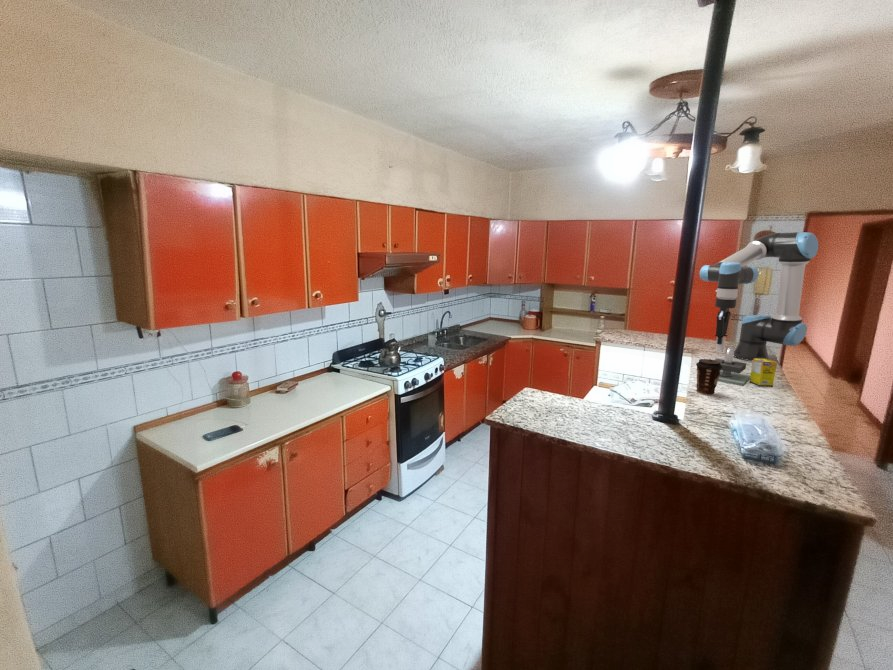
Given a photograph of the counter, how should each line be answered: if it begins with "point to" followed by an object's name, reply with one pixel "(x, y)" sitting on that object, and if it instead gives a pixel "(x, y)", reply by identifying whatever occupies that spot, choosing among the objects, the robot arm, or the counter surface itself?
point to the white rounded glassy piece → (728, 360)
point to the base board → (734, 379)
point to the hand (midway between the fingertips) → (719, 350)
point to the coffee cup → (707, 376)
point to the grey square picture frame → (732, 366)
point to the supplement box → (763, 372)
